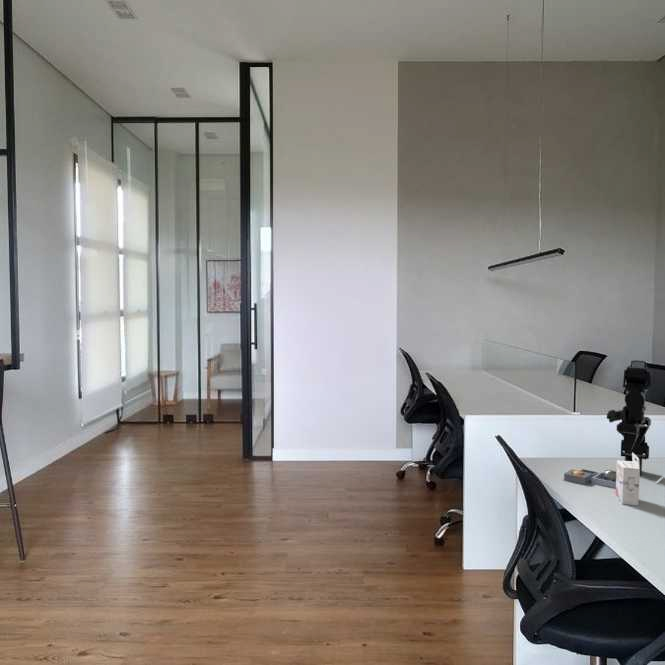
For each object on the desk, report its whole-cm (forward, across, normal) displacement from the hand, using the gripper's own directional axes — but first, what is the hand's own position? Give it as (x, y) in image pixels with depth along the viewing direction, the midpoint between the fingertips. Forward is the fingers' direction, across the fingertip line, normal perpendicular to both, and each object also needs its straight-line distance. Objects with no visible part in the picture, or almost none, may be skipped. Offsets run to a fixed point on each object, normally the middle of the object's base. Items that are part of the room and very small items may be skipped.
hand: (632, 449), depth 208 cm
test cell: (+11, +7, -5) cm, 14 cm away
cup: (+12, +7, -5) cm, 15 cm away
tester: (+12, +7, -14) cm, 20 cm away
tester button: (+11, +12, -14) cm, 21 cm away
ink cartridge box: (+12, +20, +4) cm, 24 cm away
